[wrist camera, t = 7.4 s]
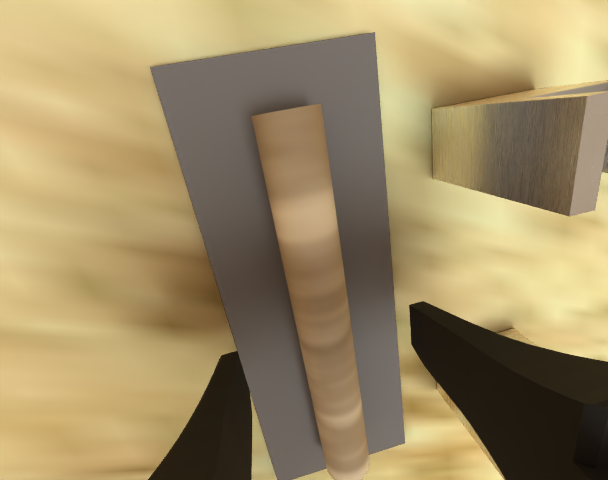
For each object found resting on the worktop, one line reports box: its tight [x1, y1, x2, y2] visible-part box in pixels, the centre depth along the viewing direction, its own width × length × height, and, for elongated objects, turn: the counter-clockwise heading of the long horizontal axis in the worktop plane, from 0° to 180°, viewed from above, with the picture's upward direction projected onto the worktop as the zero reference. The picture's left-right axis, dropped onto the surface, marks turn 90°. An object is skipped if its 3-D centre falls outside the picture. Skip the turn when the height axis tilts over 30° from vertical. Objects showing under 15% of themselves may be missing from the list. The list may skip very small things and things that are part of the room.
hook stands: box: [432, 80, 608, 480], centre depth 14 cm, size 16×5×6 cm, turn 10°
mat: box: [150, 32, 405, 480], centre depth 15 cm, size 22×8×1 cm, turn 10°
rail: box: [251, 104, 370, 480], centre depth 14 cm, size 18×2×2 cm, turn 10°
